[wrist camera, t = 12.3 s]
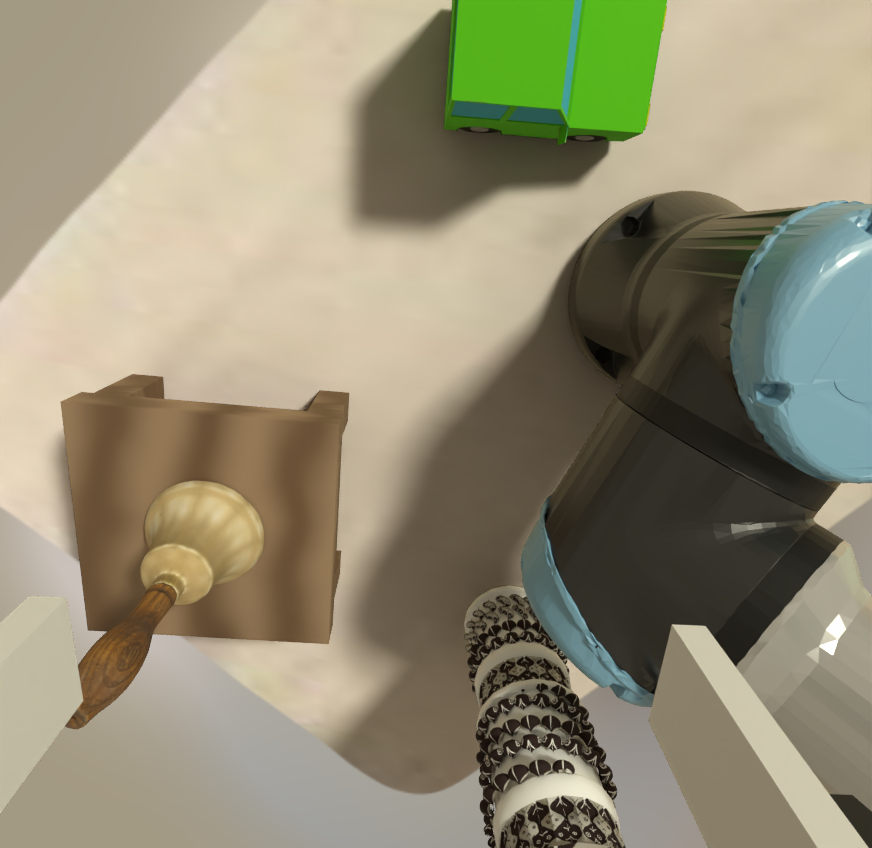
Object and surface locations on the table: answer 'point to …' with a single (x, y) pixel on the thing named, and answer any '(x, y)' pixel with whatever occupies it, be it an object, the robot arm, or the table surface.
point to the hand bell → (172, 579)
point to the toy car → (553, 67)
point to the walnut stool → (220, 463)
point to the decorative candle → (534, 734)
